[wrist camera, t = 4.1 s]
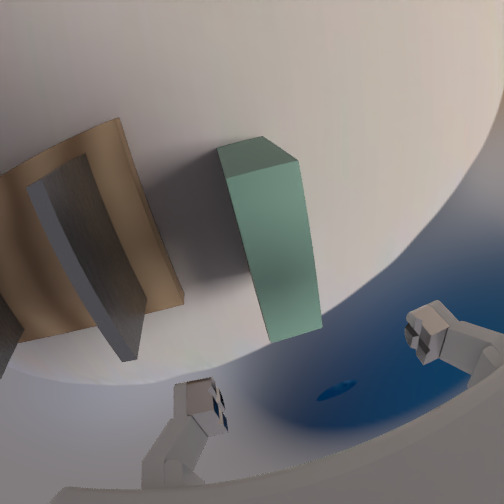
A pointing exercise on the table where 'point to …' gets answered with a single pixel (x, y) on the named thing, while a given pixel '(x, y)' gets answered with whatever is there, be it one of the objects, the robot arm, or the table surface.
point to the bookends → (84, 259)
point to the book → (274, 234)
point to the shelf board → (42, 254)
